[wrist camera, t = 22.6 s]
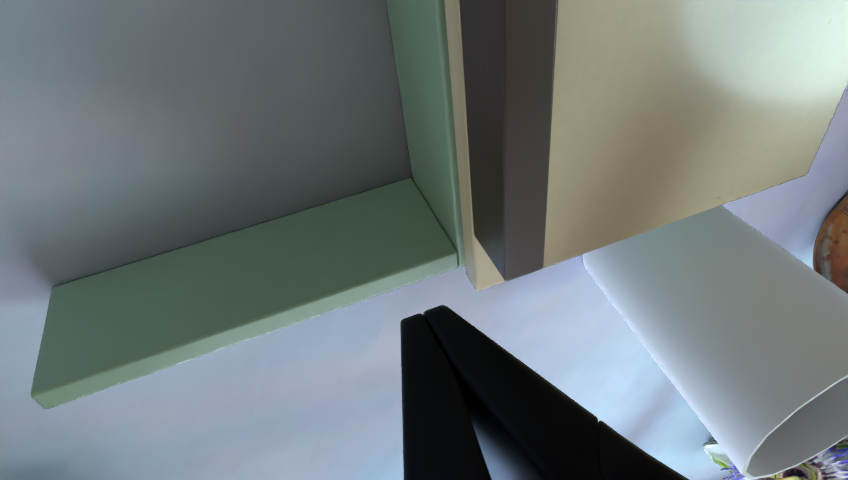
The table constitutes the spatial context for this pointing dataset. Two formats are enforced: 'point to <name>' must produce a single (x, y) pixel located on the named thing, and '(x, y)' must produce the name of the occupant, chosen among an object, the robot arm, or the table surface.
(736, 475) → the passion flower
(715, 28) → the sliding lid
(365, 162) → the table surface
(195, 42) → the table surface
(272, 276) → the storage box
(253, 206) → the table surface
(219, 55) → the table surface
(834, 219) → the tin
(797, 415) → the white cup
